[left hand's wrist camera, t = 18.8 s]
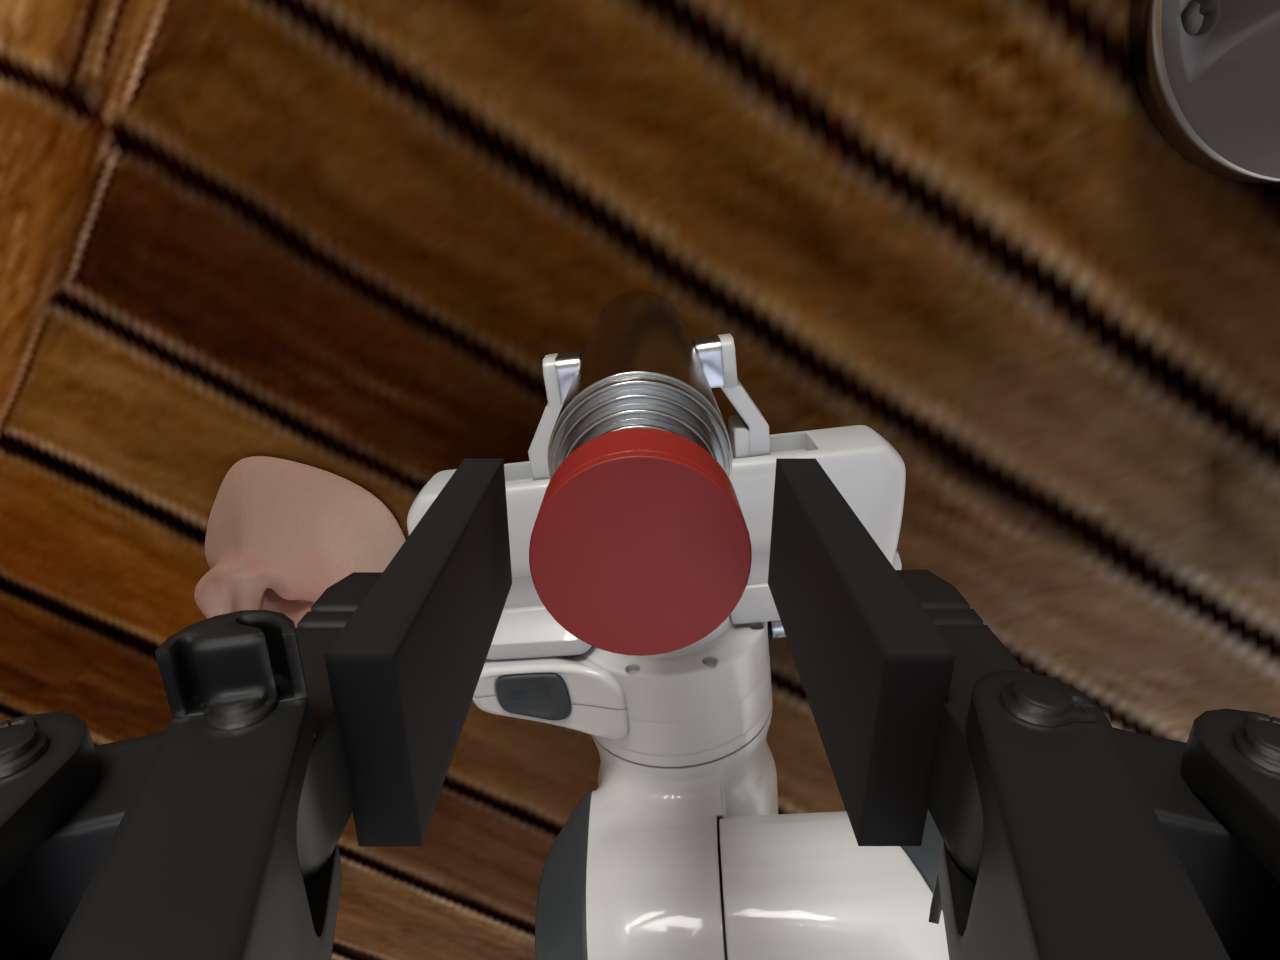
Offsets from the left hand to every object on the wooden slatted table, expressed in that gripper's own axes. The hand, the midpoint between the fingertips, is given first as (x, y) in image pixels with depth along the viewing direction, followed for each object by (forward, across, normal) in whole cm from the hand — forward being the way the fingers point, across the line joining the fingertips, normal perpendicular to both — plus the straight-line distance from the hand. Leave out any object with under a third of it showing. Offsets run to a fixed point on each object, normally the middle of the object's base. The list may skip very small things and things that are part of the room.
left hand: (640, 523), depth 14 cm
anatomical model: (+22, +18, +12) cm, 31 cm away
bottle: (+22, 0, 0) cm, 22 cm away
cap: (-1, 0, 0) cm, 1 cm away
